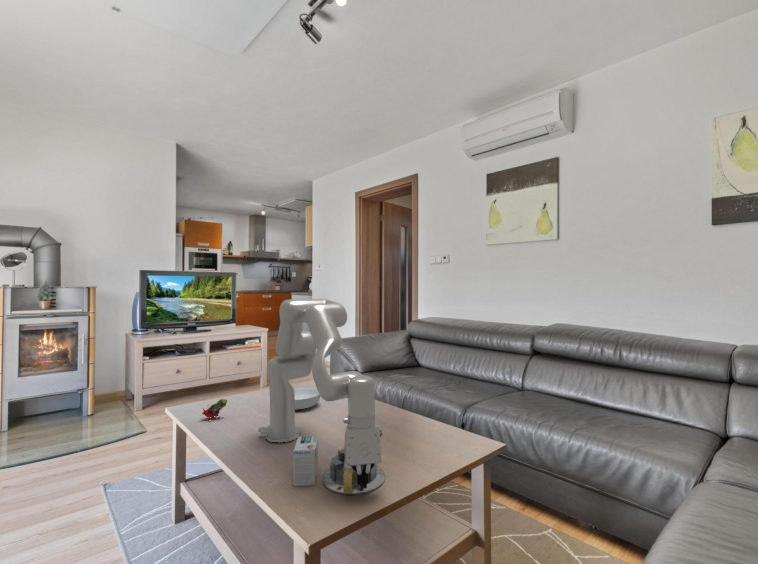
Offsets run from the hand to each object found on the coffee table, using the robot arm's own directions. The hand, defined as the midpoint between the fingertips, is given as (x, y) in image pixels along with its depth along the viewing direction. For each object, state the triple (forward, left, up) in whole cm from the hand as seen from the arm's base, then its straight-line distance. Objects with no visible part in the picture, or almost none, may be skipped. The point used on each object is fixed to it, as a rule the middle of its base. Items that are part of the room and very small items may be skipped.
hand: (363, 486), depth 109 cm
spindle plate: (-2, +9, -2) cm, 10 cm away
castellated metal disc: (-2, +8, -1) cm, 8 cm away
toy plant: (-63, +70, -3) cm, 94 cm away
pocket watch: (+6, +45, -3) cm, 45 cm away
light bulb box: (-17, +12, -3) cm, 21 cm away
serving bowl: (-27, +83, -3) cm, 87 cm away
